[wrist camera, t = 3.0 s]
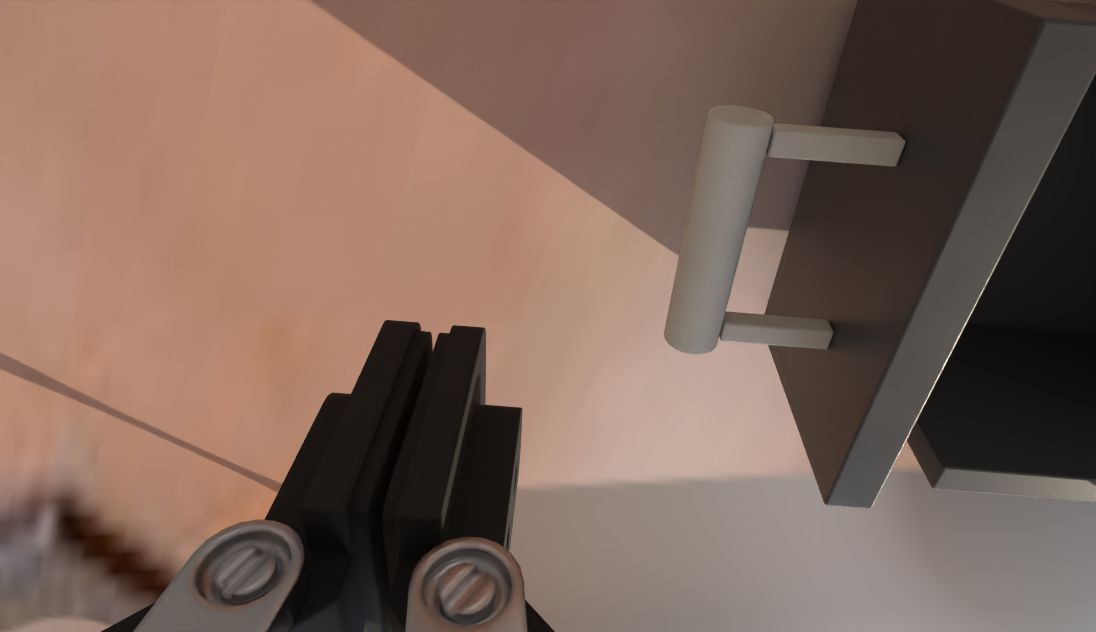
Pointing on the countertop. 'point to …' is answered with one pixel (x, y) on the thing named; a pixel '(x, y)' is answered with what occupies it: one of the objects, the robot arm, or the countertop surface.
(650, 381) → the countertop surface
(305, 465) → the robot arm
